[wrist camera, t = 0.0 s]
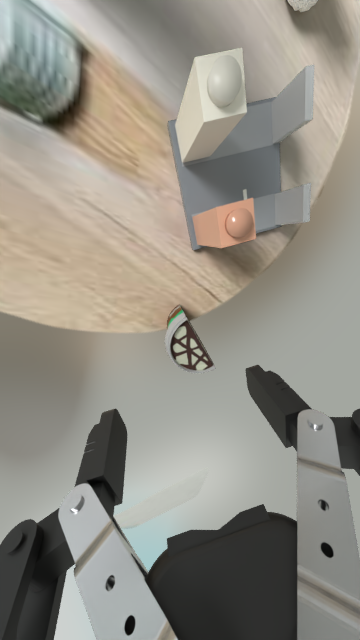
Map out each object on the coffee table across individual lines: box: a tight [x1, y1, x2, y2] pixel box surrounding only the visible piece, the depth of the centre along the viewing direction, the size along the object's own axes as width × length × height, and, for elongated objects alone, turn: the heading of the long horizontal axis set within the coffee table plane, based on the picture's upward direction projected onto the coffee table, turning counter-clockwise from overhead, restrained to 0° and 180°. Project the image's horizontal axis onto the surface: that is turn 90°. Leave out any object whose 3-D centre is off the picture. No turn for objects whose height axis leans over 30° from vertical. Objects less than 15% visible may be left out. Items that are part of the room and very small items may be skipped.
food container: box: [165, 305, 216, 373], centre depth 38 cm, size 12×6×10 cm, turn 29°
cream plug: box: [175, 48, 247, 163], centre depth 24 cm, size 4×4×13 cm
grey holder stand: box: [167, 65, 314, 250], centre depth 31 cm, size 18×17×8 cm
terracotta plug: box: [192, 198, 256, 248], centre depth 29 cm, size 4×4×13 cm
